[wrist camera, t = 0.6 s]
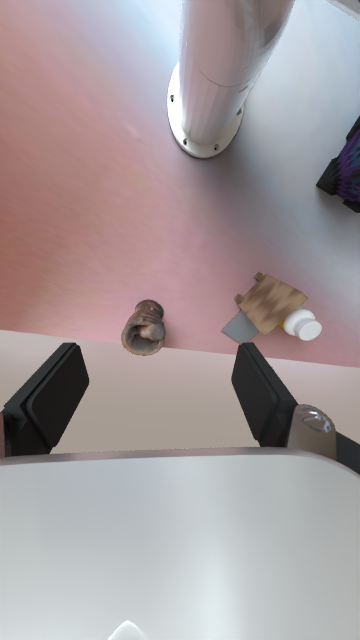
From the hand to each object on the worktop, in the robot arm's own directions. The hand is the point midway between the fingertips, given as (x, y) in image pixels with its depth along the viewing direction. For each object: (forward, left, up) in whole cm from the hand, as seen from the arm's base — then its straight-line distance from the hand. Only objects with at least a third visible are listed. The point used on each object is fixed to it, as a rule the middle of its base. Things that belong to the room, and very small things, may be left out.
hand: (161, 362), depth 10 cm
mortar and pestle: (+12, +3, -35) cm, 37 cm away
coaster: (+2, +28, -34) cm, 44 cm away
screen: (-7, +22, -34) cm, 41 cm away
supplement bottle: (-8, +31, -35) cm, 47 cm away
